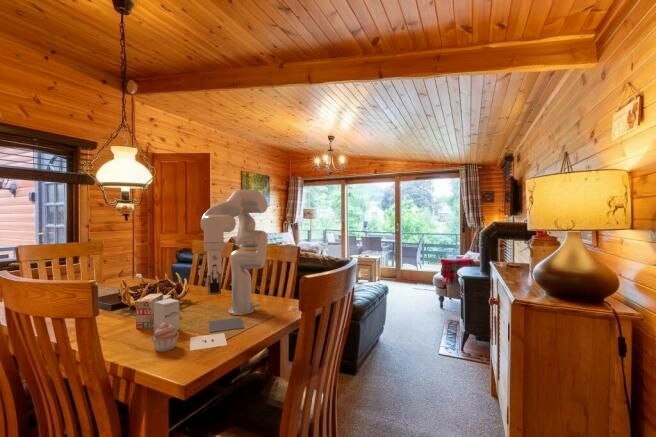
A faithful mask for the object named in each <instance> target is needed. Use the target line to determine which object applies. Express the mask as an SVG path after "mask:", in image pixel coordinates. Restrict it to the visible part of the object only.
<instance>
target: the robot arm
mask: <svg viewBox="0 0 656 437" xmlns="http://www.w3.org/2000/svg"><path fill="white" fill-rule="evenodd" d="M267 209H268V201H267V199H266V197H265V196H264V195H263V193H261V192H260V191H258V190H256V189H237V190H234V191H233V193H232V194H230V196H229V197H228V198H227V200H226V201H224V202H221V203H219V204H217V205H214V206H212V207H210V208H208V209H207V210H206V212H204V213H203V215H202V217H201V219H200V223H199V224H200V229H202V231H203V251H206V253H207V254H206V256H207V270H208V272H207V273H209V275H210V276H211V283H210V292H211V293H216V292H219V282H218V273H219V274H220V275H221V276H222V275H223V268H222V267H223V265H222V261H223V260H222V251H223V250H224V249H225V246H224V242H225V241H224V239H225V238H224V237H225V235H224V233H230V232H232V231H234V230H235V228H236V226H237V222H236V218H235V217H237V218H238V222H239V223H238V224H239V225H238V228H237V235H236V240H235V241H236V242H235V243H236V246H237V247H238V248H241V249H235V250H233V251H232V252H231V253H230V255H229V262H230V268H231V307H230V308H229V309H228V313H229V314H230V315H234V316H243V315H249V314H252V313H254V311H255V308H259V307H261V302H252V276H251V273H250V272H249V270H248V269H251V270H252V269H254V270H255V269H257V270H258V269H262V268H264V266H265V264H266V263H265V262H266V257H267V248H268V234H267V233H266V232H265V231H264V230H258V229H256V225H257V223H256V221H255V219H254V217H253V216H252V215H251V214H264V213H265V212H266V211H267ZM212 274H213V275H212Z"/></svg>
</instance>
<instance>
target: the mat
mask: <svg viewBox="0 0 656 437" xmlns="http://www.w3.org/2000/svg"><path fill="white" fill-rule="evenodd" d="M208 327H209V333H210V334H211V333H217V332H225V331H227V332H228V331H232V330H234V331H235V330H241V329H242V330H243V329H245V326H244V323H243V320H242V319H241V317H235V318H234V317H233V318H226V319H217V320H216V319H215V320H209V321H208Z"/></svg>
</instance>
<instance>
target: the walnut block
mask: <svg viewBox="0 0 656 437" xmlns="http://www.w3.org/2000/svg"><path fill="white" fill-rule="evenodd" d="M206 275H207V276H206V278H207V280H206V281H207V285H206V286H207V288H206V290H207V296H216V295H221V294H222V274H221V275H220V274H219V273H218V282H219V292H216V293H211V292H210V283H211V276H210V275H209V272H207V273H206ZM212 275H213V274H212Z"/></svg>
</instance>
